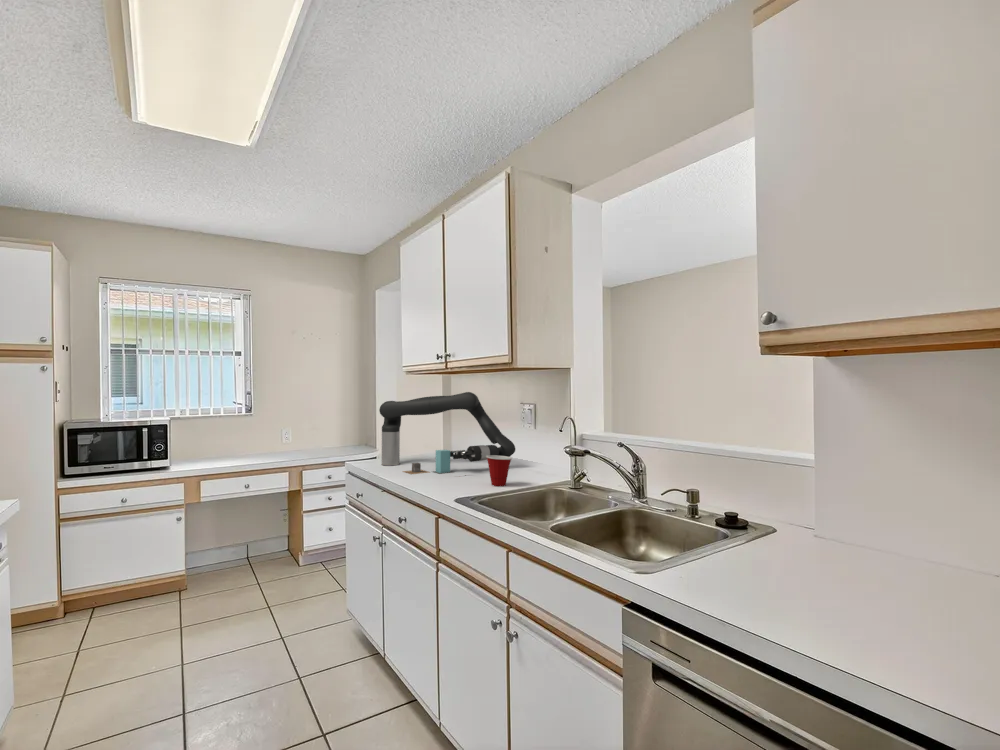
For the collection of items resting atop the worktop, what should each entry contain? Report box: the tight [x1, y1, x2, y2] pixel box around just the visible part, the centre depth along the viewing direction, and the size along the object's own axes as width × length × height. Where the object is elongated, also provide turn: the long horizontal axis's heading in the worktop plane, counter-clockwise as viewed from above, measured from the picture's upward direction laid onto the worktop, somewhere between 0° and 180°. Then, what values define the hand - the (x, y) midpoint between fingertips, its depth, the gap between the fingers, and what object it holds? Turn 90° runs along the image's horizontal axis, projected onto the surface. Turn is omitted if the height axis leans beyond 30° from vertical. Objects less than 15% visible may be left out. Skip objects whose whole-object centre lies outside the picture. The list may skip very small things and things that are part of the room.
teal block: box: [435, 449, 451, 474], centre depth 242 cm, size 5×5×10 cm
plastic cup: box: [486, 455, 513, 487], centre depth 214 cm, size 11×11×12 cm
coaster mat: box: [432, 470, 455, 475], centre depth 241 cm, size 8×8×1 cm
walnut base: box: [402, 462, 431, 475], centre depth 242 cm, size 10×10×5 cm
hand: (448, 455), depth 243 cm, fingers open, 8 cm apart
